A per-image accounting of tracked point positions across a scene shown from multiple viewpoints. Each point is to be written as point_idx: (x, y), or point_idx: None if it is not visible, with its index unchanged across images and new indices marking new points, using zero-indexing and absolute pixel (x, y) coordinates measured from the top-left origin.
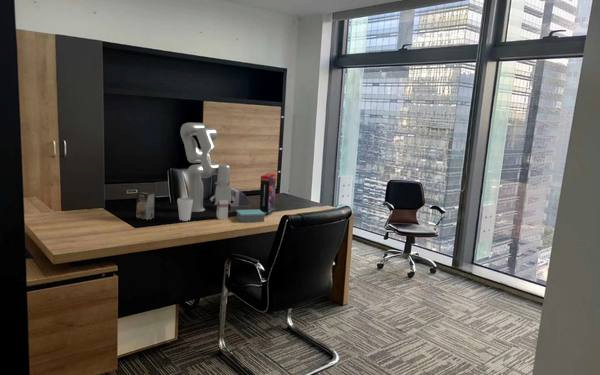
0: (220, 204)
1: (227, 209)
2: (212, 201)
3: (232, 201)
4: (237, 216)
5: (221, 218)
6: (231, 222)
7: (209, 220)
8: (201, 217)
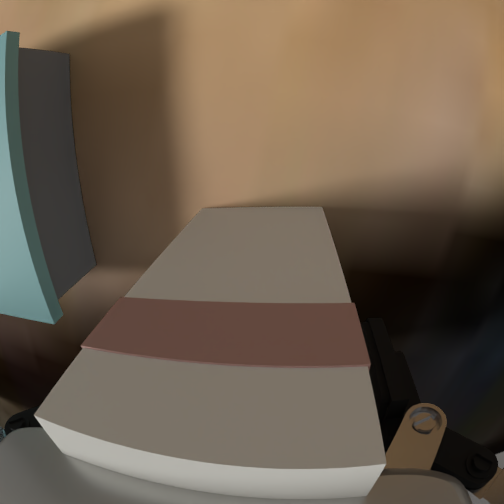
0: (342, 358)
1: (156, 272)
2: (494, 465)
3: (18, 425)
4: (75, 242)
5: (289, 210)
6: (181, 31)
7: (454, 175)
8: (473, 321)
